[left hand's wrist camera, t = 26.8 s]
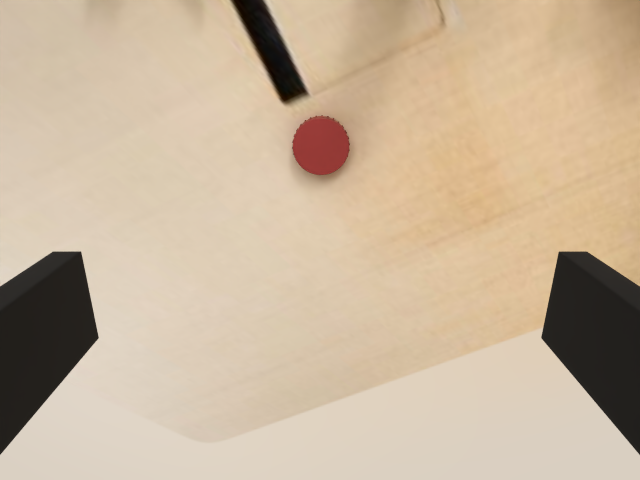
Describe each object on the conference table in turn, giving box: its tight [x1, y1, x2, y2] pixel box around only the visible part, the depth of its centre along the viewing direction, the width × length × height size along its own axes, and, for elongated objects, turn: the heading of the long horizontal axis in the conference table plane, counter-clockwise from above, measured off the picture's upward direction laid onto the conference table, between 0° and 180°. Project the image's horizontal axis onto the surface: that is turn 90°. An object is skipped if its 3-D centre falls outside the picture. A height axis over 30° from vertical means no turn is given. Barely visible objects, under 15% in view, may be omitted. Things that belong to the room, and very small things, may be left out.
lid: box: [292, 115, 350, 175], centre depth 40 cm, size 5×5×2 cm
